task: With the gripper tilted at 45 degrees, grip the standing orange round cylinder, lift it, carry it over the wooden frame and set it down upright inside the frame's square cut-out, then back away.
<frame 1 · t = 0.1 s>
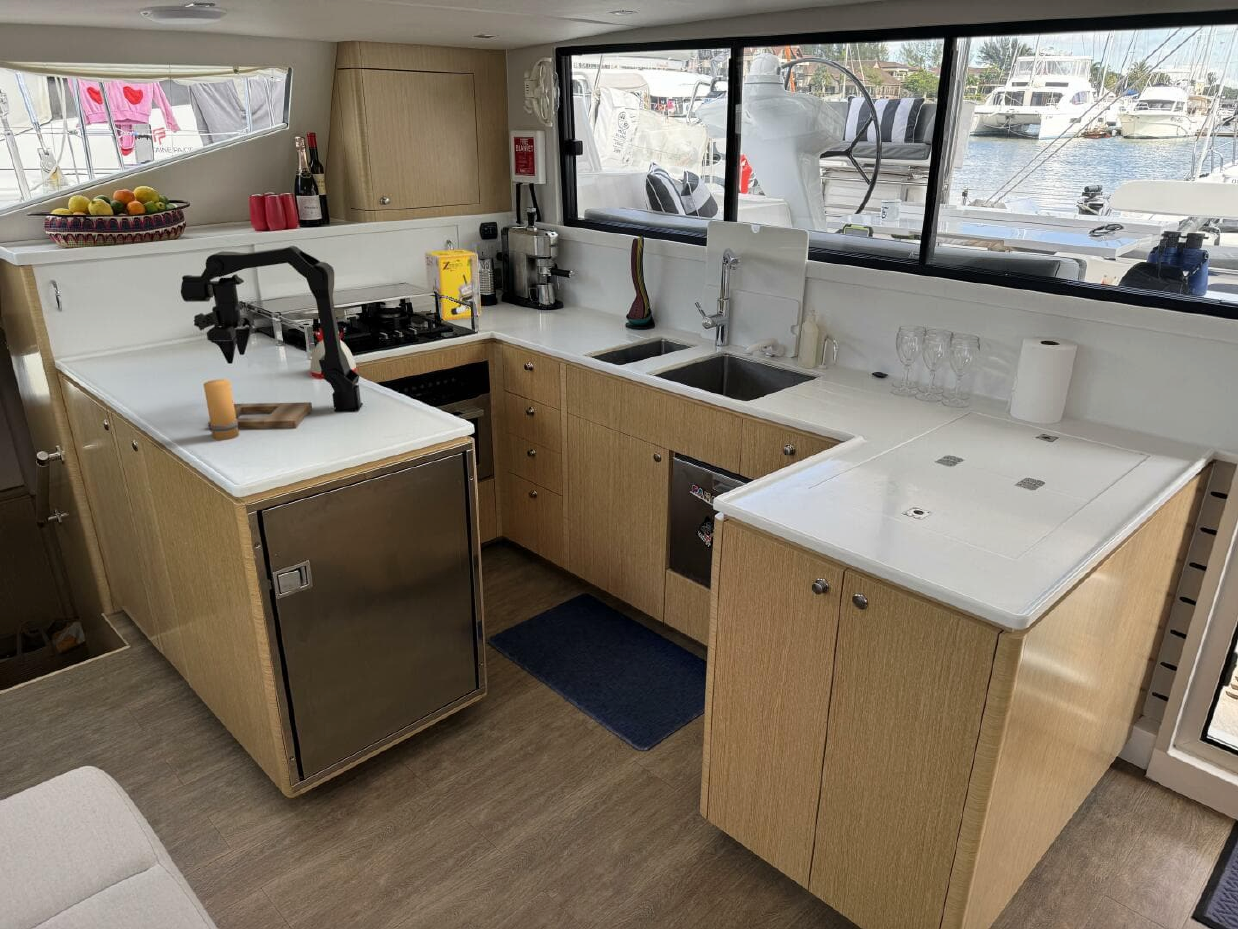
hand: (236, 358, 236), 15 cm above the table, tool pointing down, fingers open, 9 cm apart
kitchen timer: (334, 373, 277), on the table
wooden frame: (262, 419, 234), on the table
orange round cylinder: (226, 435, 222), on the table
packaging box: (455, 315, 359), on the table
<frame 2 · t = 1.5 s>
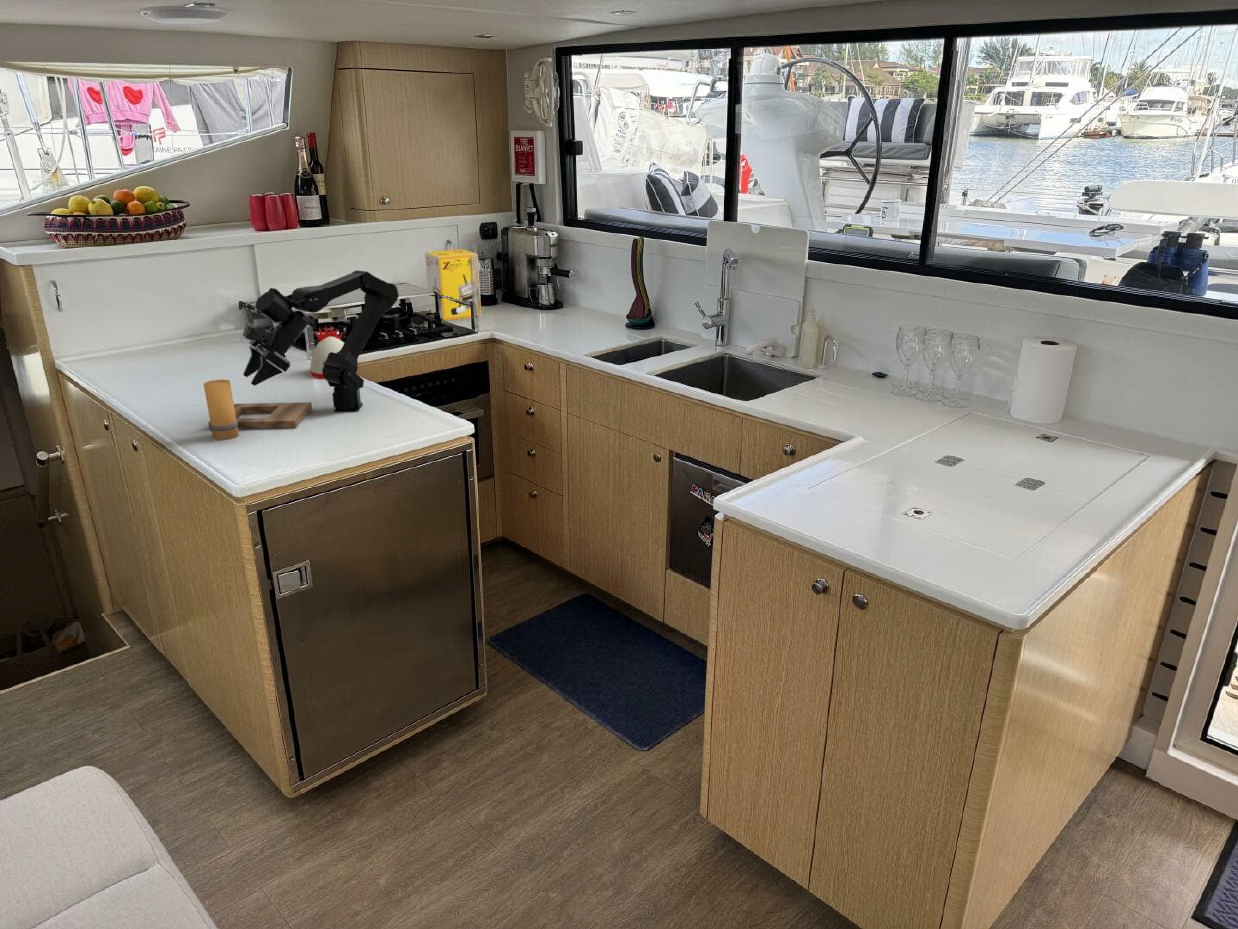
hand: (248, 380, 221), 13 cm above the table, tool tilted 45°, fingers open, 9 cm apart
nothing on the table moved.
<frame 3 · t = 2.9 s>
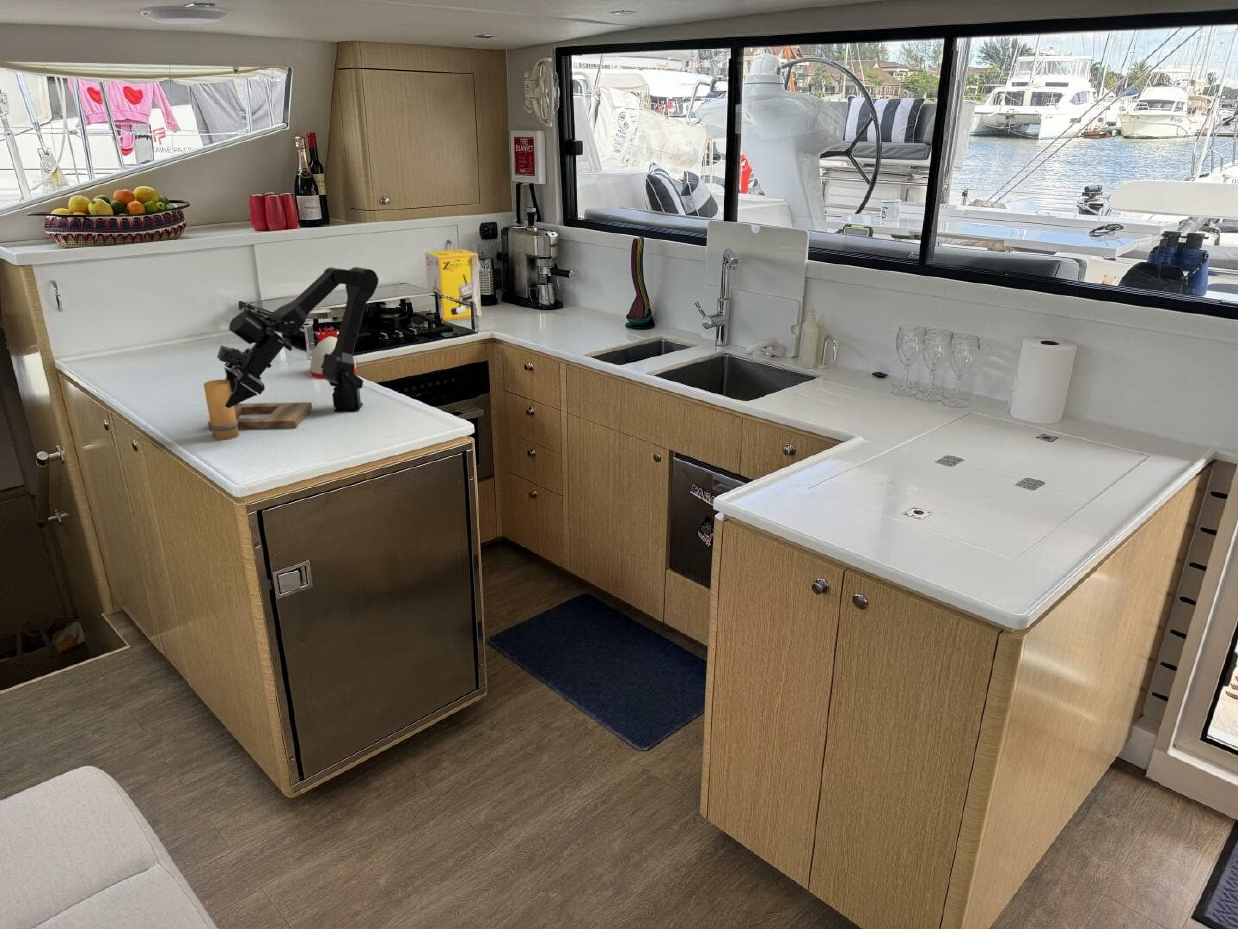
hand: (223, 402, 219), 9 cm above the table, tool tilted 45°, fingers open, 9 cm apart
nothing on the table moved.
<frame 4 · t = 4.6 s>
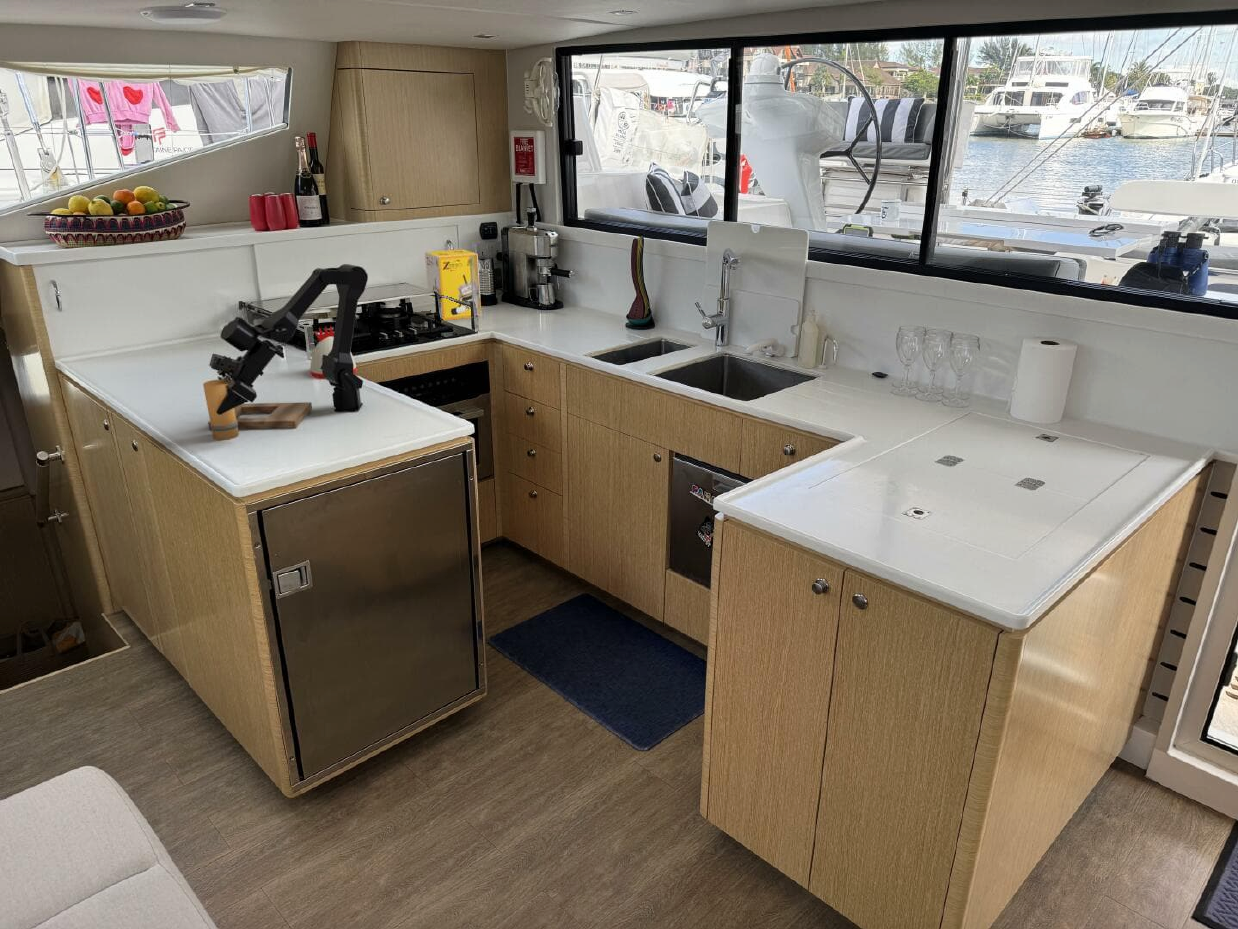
hand: (215, 410, 218), 7 cm above the table, tool tilted 45°, fingers closed on orange round cylinder, 6 cm apart
orange round cylinder: (226, 435, 222), on the table, touching gripper
everything else where it was.
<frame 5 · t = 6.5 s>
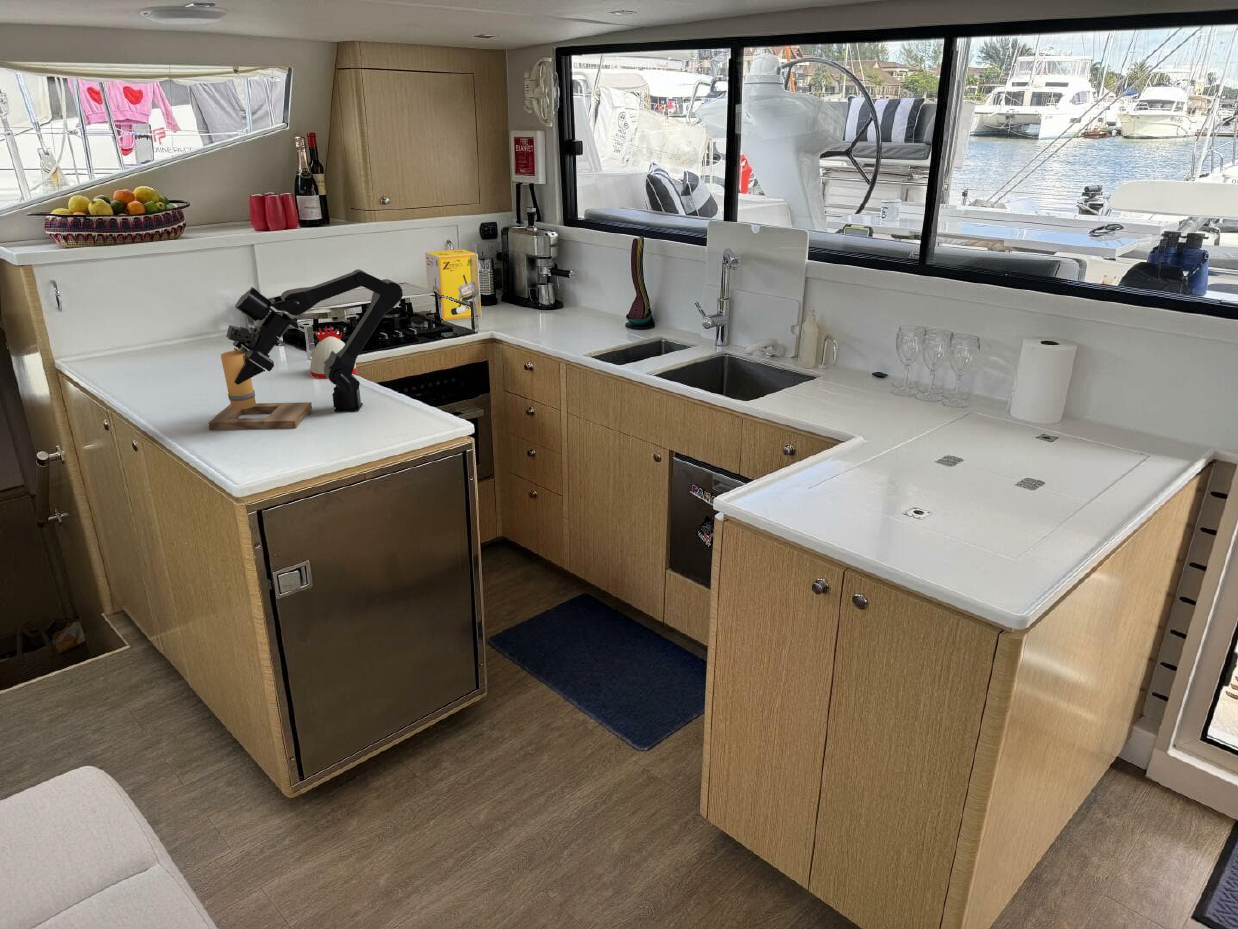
hand: (233, 380, 224), 12 cm above the table, tool tilted 45°, fingers closed on orange round cylinder, 6 cm apart
orange round cylinder: (243, 405, 228), point 5 cm above the table, touching gripper
everything else where it was.
when the fingers open (8 cm above the table, at t = 8.7 s): orange round cylinder drops 1 cm, resting in wooden frame.
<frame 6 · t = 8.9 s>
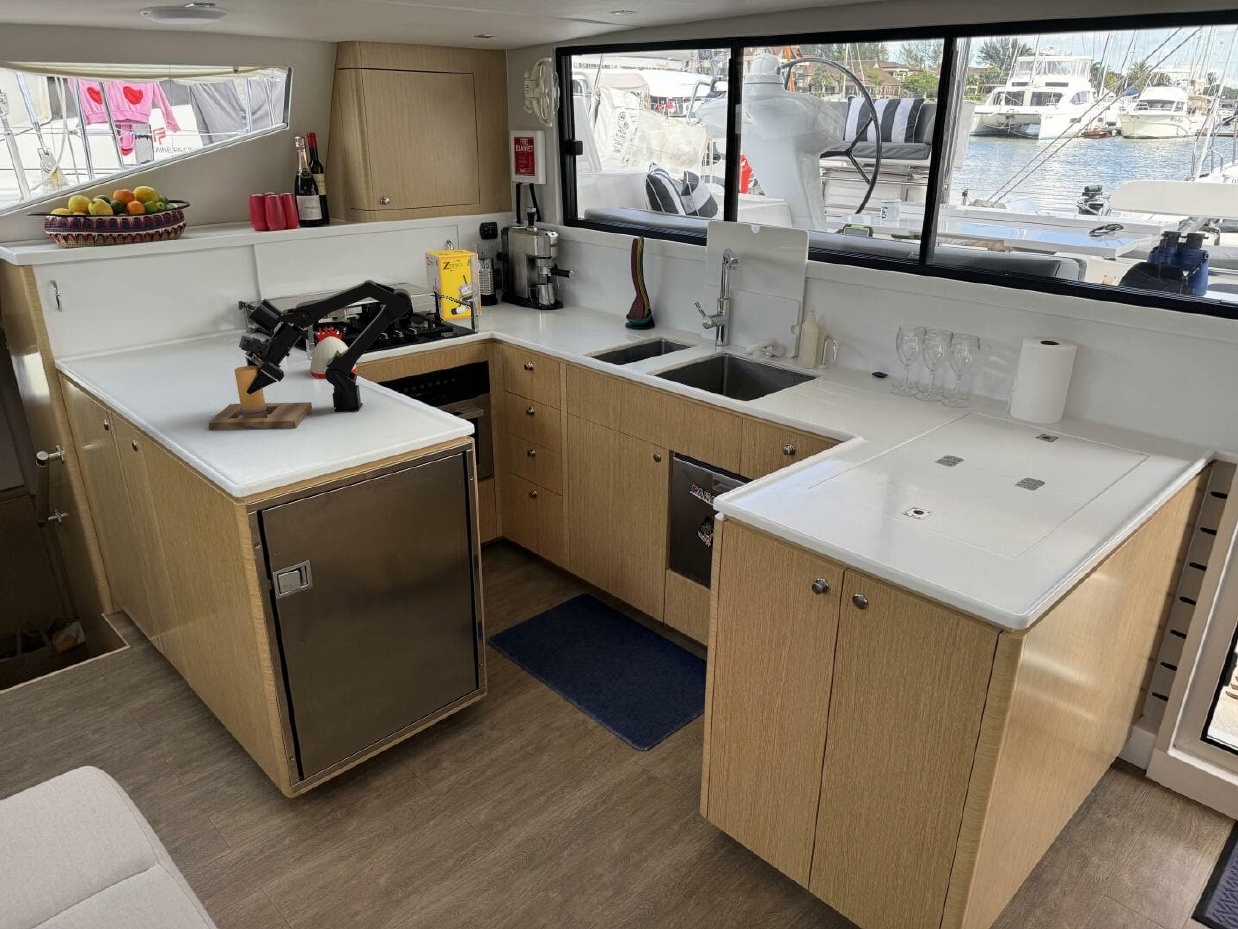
hand: (244, 389, 230), 9 cm above the table, tool tilted 45°, fingers open, 8 cm apart
orange round cylinder: (255, 419, 234), resting in wooden frame
everything else where it was.
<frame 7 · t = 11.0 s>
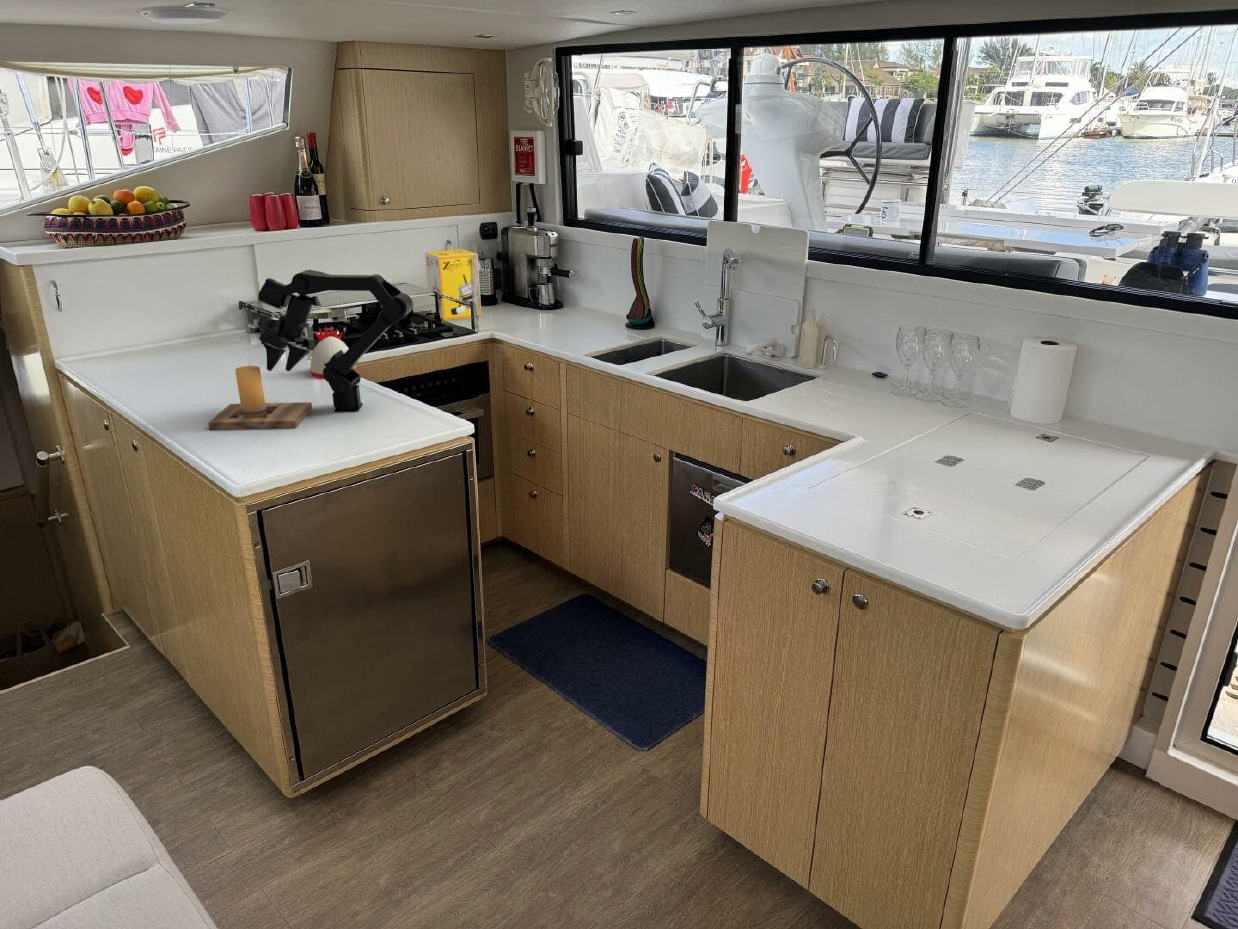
hand: (278, 370, 236), 12 cm above the table, tool tilted 25°, fingers open, 9 cm apart
nothing on the table moved.
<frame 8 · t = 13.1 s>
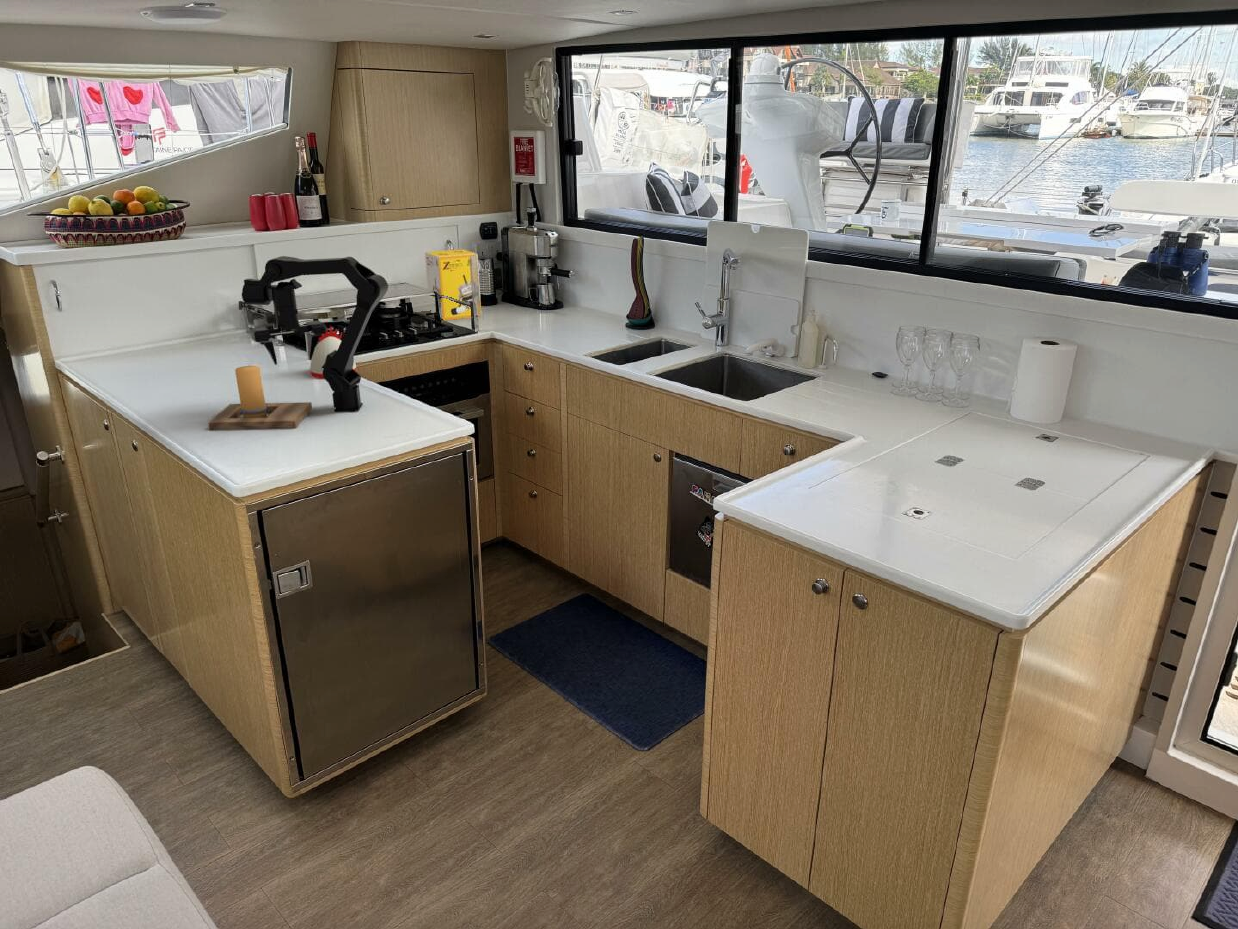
hand: (293, 361, 239), 13 cm above the table, tool pointing down, fingers open, 9 cm apart
nothing on the table moved.
at the end: orange round cylinder 0.1 cm from the target spot on the wooden frame, point 0.0 cm above the wooden frame's base; orange round cylinder tilted 0°; the gripper is holding nothing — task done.
